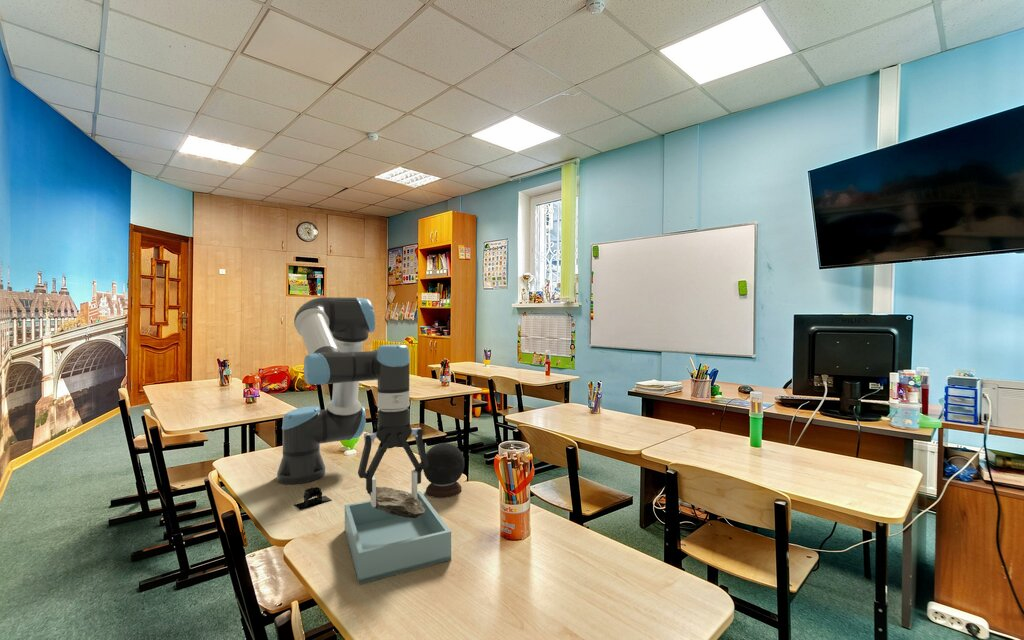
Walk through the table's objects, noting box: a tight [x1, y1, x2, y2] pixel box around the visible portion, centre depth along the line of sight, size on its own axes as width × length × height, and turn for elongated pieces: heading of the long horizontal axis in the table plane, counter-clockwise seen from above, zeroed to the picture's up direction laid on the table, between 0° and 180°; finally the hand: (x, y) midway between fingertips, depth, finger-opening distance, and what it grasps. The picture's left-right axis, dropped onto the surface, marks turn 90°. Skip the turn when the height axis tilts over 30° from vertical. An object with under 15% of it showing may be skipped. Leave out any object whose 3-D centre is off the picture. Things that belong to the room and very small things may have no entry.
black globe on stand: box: [422, 442, 465, 499], centre depth 139 cm, size 13×13×15 cm
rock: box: [367, 486, 425, 518], centre depth 107 cm, size 18×11×4 cm, turn 72°
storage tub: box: [344, 490, 452, 585], centre depth 107 cm, size 26×20×6 cm
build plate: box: [293, 486, 333, 511], centre depth 131 cm, size 12×7×5 cm, turn 136°
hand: (394, 500), depth 106 cm, fingers closed on rock, 9 cm apart
